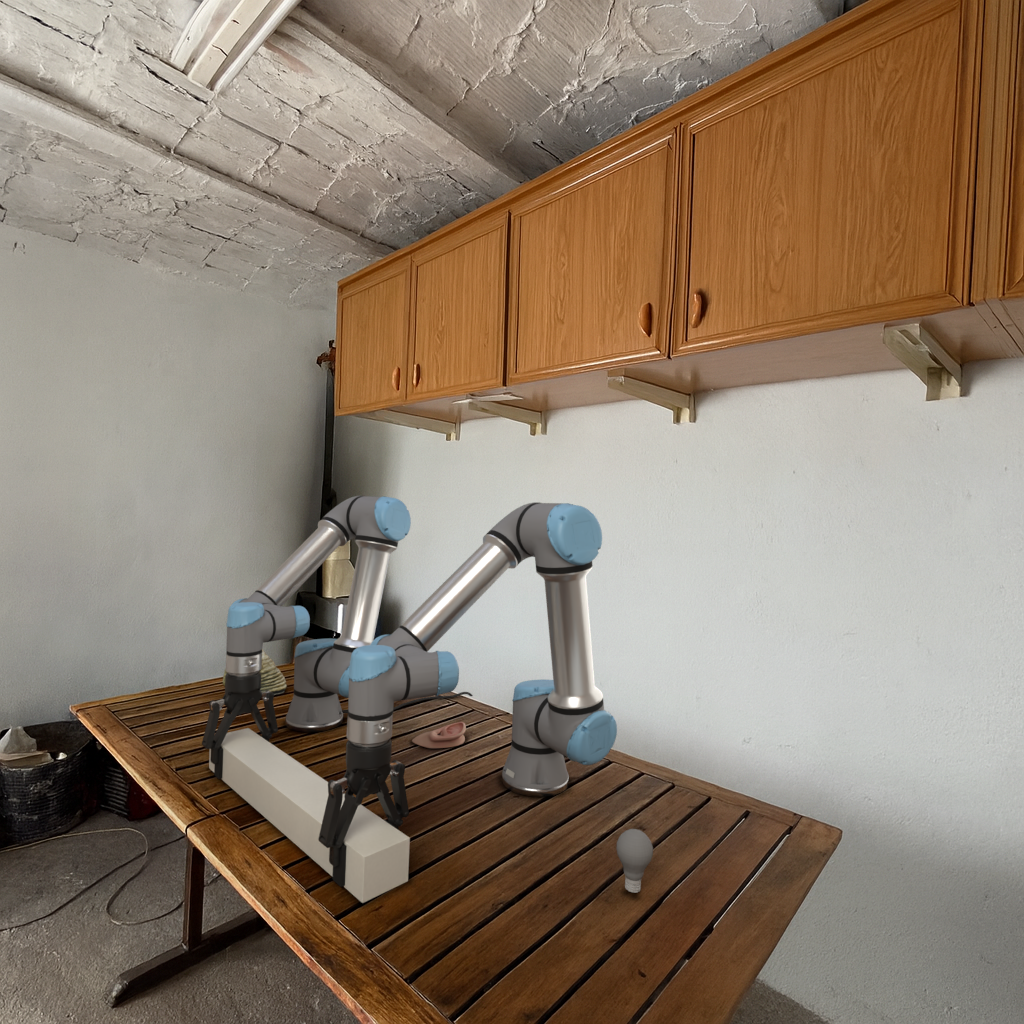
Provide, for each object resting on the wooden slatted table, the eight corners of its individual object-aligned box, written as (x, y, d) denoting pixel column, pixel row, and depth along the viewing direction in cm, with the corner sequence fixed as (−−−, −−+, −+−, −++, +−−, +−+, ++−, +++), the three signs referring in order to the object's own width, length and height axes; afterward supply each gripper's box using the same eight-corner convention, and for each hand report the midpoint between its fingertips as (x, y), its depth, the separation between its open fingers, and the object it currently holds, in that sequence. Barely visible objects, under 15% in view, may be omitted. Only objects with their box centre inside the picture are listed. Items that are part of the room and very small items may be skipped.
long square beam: (208, 768, 145) (209, 736, 145) (247, 758, 151) (248, 727, 151) (362, 903, 100) (364, 857, 99) (408, 881, 106) (410, 837, 106)
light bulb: (610, 879, 108) (613, 822, 108) (644, 879, 109) (647, 822, 109) (619, 902, 102) (622, 840, 102) (655, 901, 103) (658, 840, 103)
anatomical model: (408, 730, 163) (423, 715, 174) (407, 745, 163) (422, 730, 174) (457, 736, 160) (469, 721, 171) (457, 752, 160) (469, 735, 171)
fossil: (218, 695, 195) (220, 647, 195) (278, 685, 208) (279, 640, 207) (228, 703, 189) (230, 653, 188) (289, 692, 201) (290, 645, 201)
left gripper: (199, 684, 133) (195, 790, 133) (296, 667, 148) (292, 763, 148) (186, 676, 138) (183, 778, 138) (281, 661, 153) (278, 753, 154)
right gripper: (322, 763, 97) (316, 909, 97) (433, 731, 112) (428, 857, 112) (298, 748, 102) (293, 886, 102) (408, 719, 117) (403, 839, 118)
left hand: (239, 770), depth 143 cm, fingers closed on long square beam, 9 cm apart
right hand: (363, 871), depth 107 cm, fingers closed on long square beam, 9 cm apart
